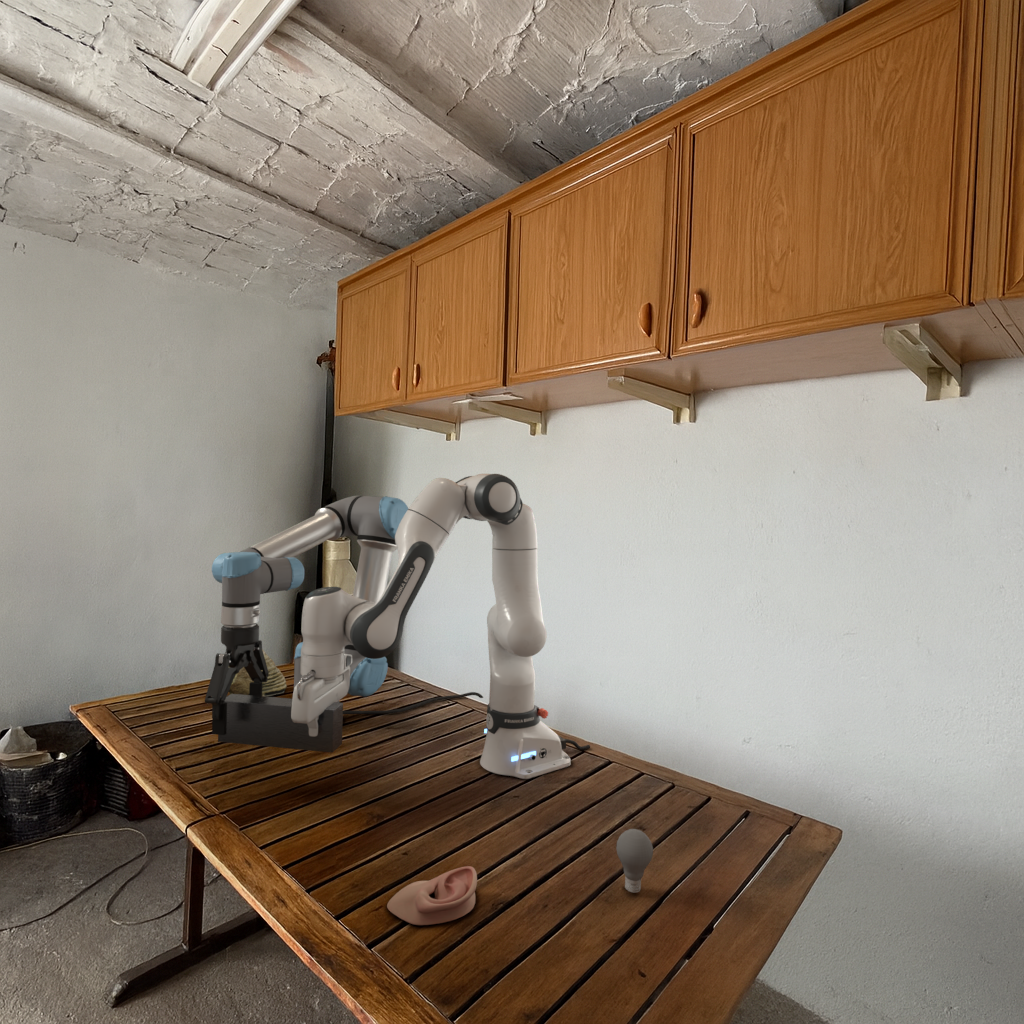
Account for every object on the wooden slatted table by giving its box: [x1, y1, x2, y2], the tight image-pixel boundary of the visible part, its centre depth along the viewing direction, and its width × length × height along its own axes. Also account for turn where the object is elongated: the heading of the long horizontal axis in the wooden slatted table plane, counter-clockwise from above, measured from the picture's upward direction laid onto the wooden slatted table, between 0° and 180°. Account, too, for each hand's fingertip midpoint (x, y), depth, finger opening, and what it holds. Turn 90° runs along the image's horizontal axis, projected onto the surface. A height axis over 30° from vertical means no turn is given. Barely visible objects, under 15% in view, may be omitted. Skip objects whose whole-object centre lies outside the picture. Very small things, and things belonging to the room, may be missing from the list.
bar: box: [217, 694, 344, 753], centre depth 135 cm, size 26×5×9 cm, turn 81°
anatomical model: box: [386, 865, 478, 926], centre depth 100 cm, size 13×4×12 cm
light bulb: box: [615, 828, 654, 894], centre depth 106 cm, size 6×6×10 cm
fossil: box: [228, 648, 288, 697], centre depth 198 cm, size 9×18×15 cm, turn 132°
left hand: (238, 722), depth 137 cm, fingers open, 13 cm apart
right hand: (321, 729), depth 134 cm, fingers closed on bar, 5 cm apart
